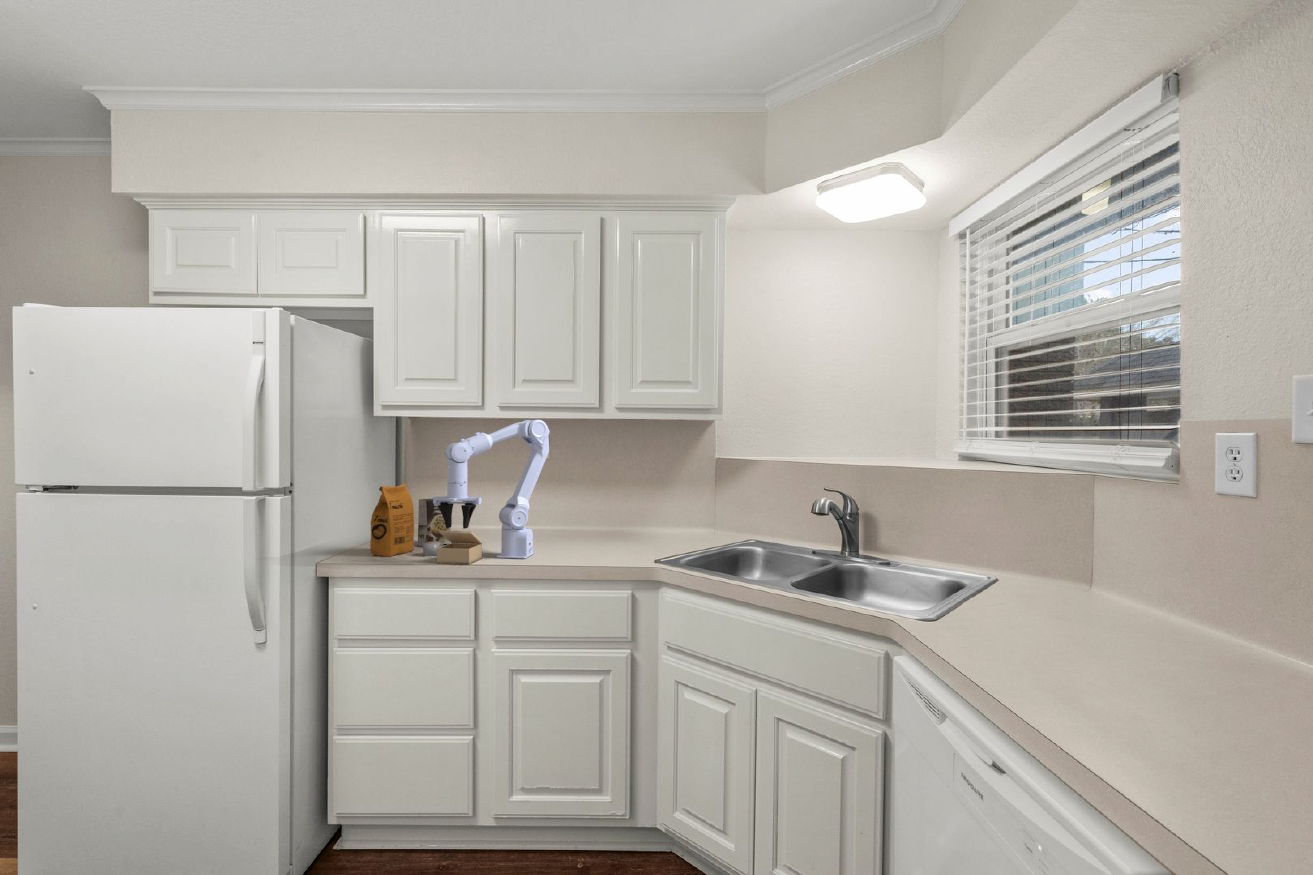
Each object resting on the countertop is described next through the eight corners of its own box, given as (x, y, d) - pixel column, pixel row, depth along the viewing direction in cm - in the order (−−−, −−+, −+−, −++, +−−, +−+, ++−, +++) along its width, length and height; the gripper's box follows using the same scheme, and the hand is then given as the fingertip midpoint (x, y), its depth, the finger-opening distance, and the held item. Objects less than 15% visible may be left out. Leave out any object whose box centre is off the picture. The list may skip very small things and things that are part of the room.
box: (481, 558, 187) (482, 544, 187) (469, 564, 178) (469, 549, 178) (451, 557, 188) (451, 543, 188) (437, 563, 179) (437, 548, 179)
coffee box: (427, 547, 204) (428, 500, 204) (417, 545, 208) (417, 499, 208) (451, 544, 211) (451, 498, 211) (440, 542, 215) (441, 497, 215)
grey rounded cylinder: (442, 554, 194) (442, 541, 194) (434, 557, 189) (435, 544, 189) (428, 553, 194) (428, 541, 194) (419, 556, 189) (420, 543, 189)
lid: (482, 544, 187) (482, 542, 187) (471, 533, 179) (471, 531, 179) (451, 542, 188) (451, 541, 188) (438, 532, 180) (439, 530, 180)
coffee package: (364, 555, 190) (365, 486, 190) (395, 548, 202) (395, 483, 202) (388, 558, 187) (389, 487, 187) (418, 551, 198) (418, 484, 198)
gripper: (428, 483, 178) (427, 529, 178) (474, 484, 176) (474, 530, 176) (439, 481, 185) (439, 525, 185) (484, 482, 183) (484, 526, 183)
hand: (457, 527), depth 181 cm, fingers open, 5 cm apart
